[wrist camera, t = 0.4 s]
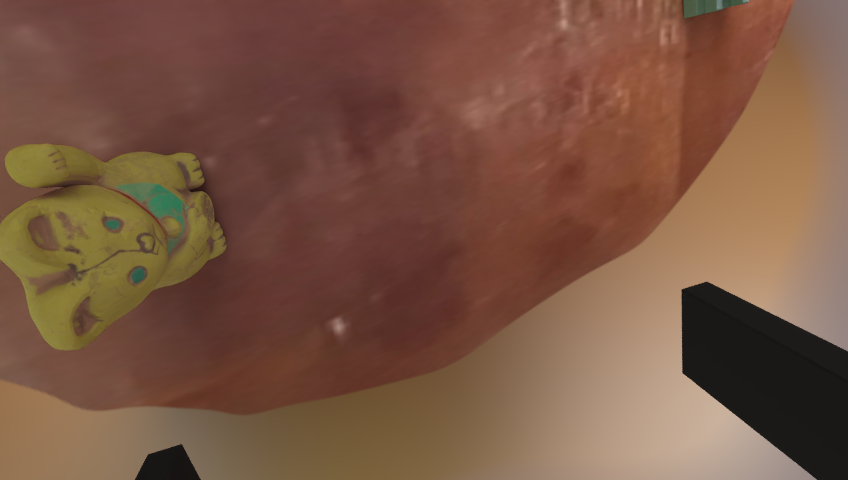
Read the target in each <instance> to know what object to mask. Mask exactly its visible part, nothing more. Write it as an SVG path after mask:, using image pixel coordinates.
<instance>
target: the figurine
mask: <svg viewBox="0 0 848 480" xmlns="http://www.w3.org/2000/svg"><path fill="white" fill-rule="evenodd" d="M5 166H6V169H7V171H8V173H9V175H10V176H11V178H12V179H14V180H15V181H16V182H17V183H19V184H21V185H23V186H26V187H32V188H49V187H64V188H61V189H58V190H55V191H52V192H50V193H47V194H45V195H42V196H40V197H37V198H35V199H32V200H30V201H28V202H26V203H24V204H23V205H21V206H20V207H18V208H17V209H15V210H14V211H12V212H11V213H10V214H9V215H8V216H7V217H5V219H4V220H3V221H2V222H1V224H0V259H1V261H2V262H3V263H5V264H6V265H7V266H8V267H9V268H10V269H11V270H12V271H13V272H14V273H15V274H16V275H17V276H18V277H19V278H20V280H21V282H22V284H23V286H24V289H25V293H26V298H27V303H28V308H29V312H30V316H31V317H32V319H33V321H34V323H35V325H36V326H37V328H38V330H39V331H40V333H41V335H42V336H43V338H44V339H45V340H46V341H47V343H48V344H49V345H50V346H51V347H54V348H56V349H59V350H78V349H81V348H84V347H85V346H86V345H88V344H89V343H90V342H92V341H93V340H94V339H95V338H97V337H98V336H99V335H100V334H101V333H102V332H103V331H104V330H105V329H106V328H107V327H108V326H109V325H110V324H112V323H113V322H115V321H116V320H117V319H119V318H120V317H122V316H124V315H125V314H127V313H128V312H130V311H131V310H133V309H134V308H135V307H136V306H137V305H139V304H140V303H141V302H142V301H143V300H144V299H145V298H146V297H147V296H148V295H149V293H150V292H151V291H152V290H155V289H158V288H161V287H165V286H170V285H174V284H176V283H179V282H182V281H184V280H186V279H188V278H190V277H191V276H193V275H194V274H195V273H197V272H198V271H199V270H200V269H201V268H202V267H203V265H204V264H205V263H206V262H207V261H208V260H210V259H212V258H215V257H217V256H219V255H220V254H222V253H223V252H224V251H225V250H226V248H227V243H226V241H225V237H224V235H223V231H222V229H221V227H220V224H219V223H217V222H215V221H214V220H215V219H214V208H213V205H212V201H211V199H210V197H209V196H208V195H207V194H206V193H205V192H203V191H199V192H190V191H189V190H192V189H195V188H198V187H199V186H201V185H202V184H203V183H204V180H205V179H204V177H203V175H202V171H201V169H200V163H199V161H198V160H197V158H196V156H195V155H193V154H191V153H176V154H172V155H161V154H157V153H151V152H132V153H127V154H123V155H120V156H117V157H115V158H113V159H111V160H109V161H108V162H106V163H105V162H103V161H101V160H99V159H97V158H96V157H94V156H92V155H90V154H89V153H87V152H85V151H82V150H80V149H77V148H74V147H70V146H64V145H51V144H47V143H45V144H28V145H22V146H19V147H17V148H14V149H12V150H11V151H10V152H8V153H7V156H6V158H5Z"/></svg>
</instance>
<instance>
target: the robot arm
mask: <svg viewBox="0 0 848 480" xmlns="http://www.w3.org/2000/svg"><path fill="white" fill-rule="evenodd" d="M682 366H683V367H682V368H683V369H682V370H683V371H682V372H683V374H684V375H686V376H687V377H688V378H690V379H691V380H692V381H693V382H695V383H696V384H697V385H698V386H700V387H701V388H702V389H703V390H705V391H706V392H707V393H709V394H710V395H711V396H712V397H714V398H715V399H716V400H717V401H719V402H720V403H721V404H722V405H724V406H725V407H726V408H727V409H729V410H730V411H731V412H732V413H734V414H735V415H736V416H738V417H739V418H740V419H741V420H743V421H744V422H745V423H746V424H748V425H749V426H750V427H751V428H753V429H754V430H755V431H756V432H758V433H759V434H760V435H761V436H763V437H764V438H765V439H767V440H768V441H769V442H770V443H772V444H773V445H774V446H775V447H777V448H778V449H779V450H780V451H782V452H783V453H784V454H786V455H787V456H788V457H789V458H791V459H792V460H793V461H794V462H796V463H797V464H798V465H799V466H801V467H802V468H803V469H804V470H806V471H807V472H808V473H809V474H811V475H812V476H813V477H814V478H816V479H817V480H848V351H846V350H844V349H842V348H840V347H838V346H836V345H834V344H832V343H830V342H828V341H826V340H823V339H822V338H819V337H818V336H816V335H813V334H811V333H809V332H807V331H805V330H803V329H801V328H799V327H797V326H795V325H793V324H791V323H789V322H787V321H785V320H783V319H781V318H779V317H777V316H775V315H773V314H771V313H769V312H767V311H765V310H763V309H761V308H759V307H757V306H755V305H753V304H751V303H749V302H747V301H745V300H743V299H741V298H739V297H737V296H735V295H733V294H731V293H729V292H727V291H724V290H723V289H721V288H719V287H717V286H715V285H713V284H711V283H708V282H704V283H701V284H698V285H694V286H691V287H688V288H685V289H682ZM135 480H201V479H200V478H199V476H198V474H197V472H196V470H195V468H194V466H193V464H192V463H191V461H190V459H189V457H188V455H187V453H186V451H185V449H184V448H183V446H182V445H177V446H174V447H171V448H168V449H165V450H162V451H158V452H155V453H152V454H149V455H148V456H147V458H146V459H145V461H144V463H143V465H142V467H141V469H140V471H139V473H138V475H137V477H136V479H135Z"/></svg>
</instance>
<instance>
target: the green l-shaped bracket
mask: <svg viewBox="0 0 848 480" xmlns="http://www.w3.org/2000/svg"><path fill="white" fill-rule="evenodd" d="M748 2H749V0H683V9H684V18H688V17H693V16H697V15H701V14H705V13H710V12H714V11H718V10H722V9H724V8H727V7H731V6H736V5H740V4H744V3H748Z"/></svg>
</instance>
